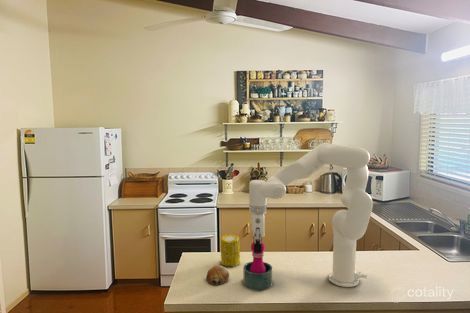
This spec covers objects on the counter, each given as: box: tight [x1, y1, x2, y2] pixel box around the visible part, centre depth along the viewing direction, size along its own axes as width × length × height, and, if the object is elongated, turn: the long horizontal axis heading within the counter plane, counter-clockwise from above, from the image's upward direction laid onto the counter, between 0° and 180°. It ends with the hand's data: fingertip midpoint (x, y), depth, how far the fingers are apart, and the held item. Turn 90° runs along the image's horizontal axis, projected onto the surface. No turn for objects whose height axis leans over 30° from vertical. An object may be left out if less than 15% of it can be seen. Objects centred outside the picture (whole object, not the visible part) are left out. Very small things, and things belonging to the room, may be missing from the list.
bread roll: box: [206, 264, 230, 286], centre depth 143 cm, size 10×10×8 cm
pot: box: [242, 261, 273, 291], centre depth 140 cm, size 13×13×7 cm
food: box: [220, 234, 241, 267], centre depth 159 cm, size 15×12×10 cm
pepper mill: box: [250, 240, 266, 274], centre depth 140 cm, size 7×7×20 cm
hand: (257, 248), depth 139 cm, fingers open, 6 cm apart
